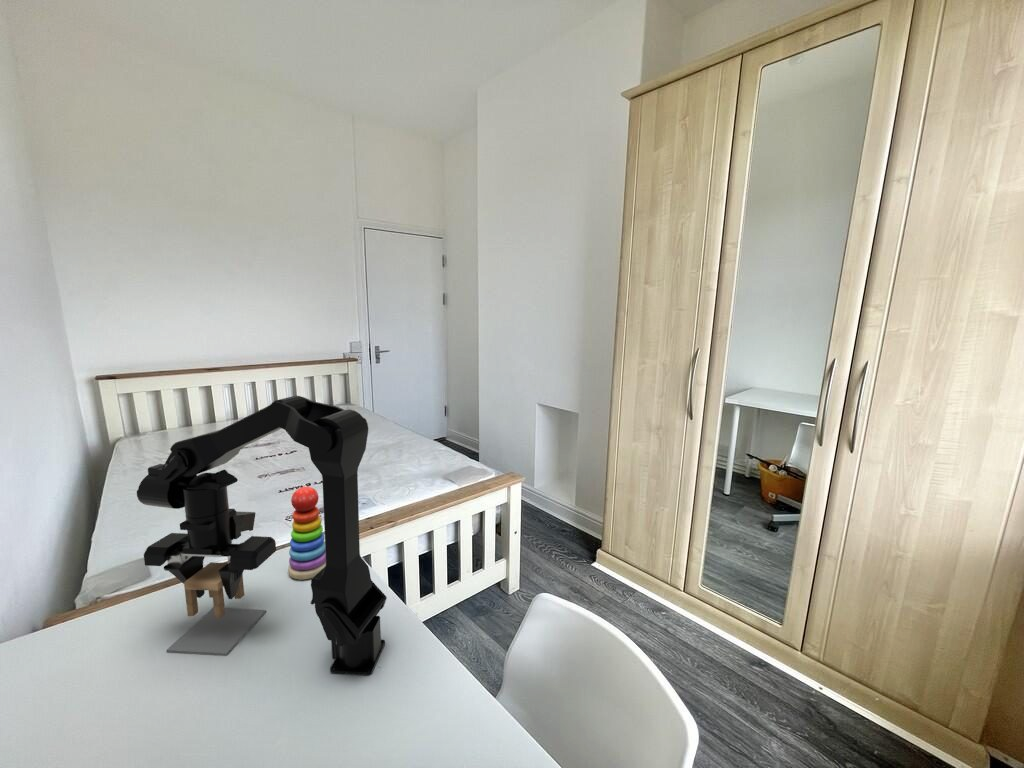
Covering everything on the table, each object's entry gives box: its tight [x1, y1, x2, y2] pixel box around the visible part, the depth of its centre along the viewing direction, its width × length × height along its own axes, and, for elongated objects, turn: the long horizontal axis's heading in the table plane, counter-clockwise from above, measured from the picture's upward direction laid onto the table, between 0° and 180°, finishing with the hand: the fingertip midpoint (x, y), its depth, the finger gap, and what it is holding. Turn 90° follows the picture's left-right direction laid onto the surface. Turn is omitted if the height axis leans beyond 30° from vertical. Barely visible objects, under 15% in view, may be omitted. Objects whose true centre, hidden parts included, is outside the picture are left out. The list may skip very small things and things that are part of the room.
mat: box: [165, 606, 267, 657], centre depth 71 cm, size 10×10×1 cm
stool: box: [183, 561, 245, 618], centre depth 70 cm, size 6×6×6 cm
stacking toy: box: [287, 486, 326, 581], centre depth 87 cm, size 8×8×19 cm
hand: (216, 596), depth 70 cm, fingers closed on stool, 5 cm apart
